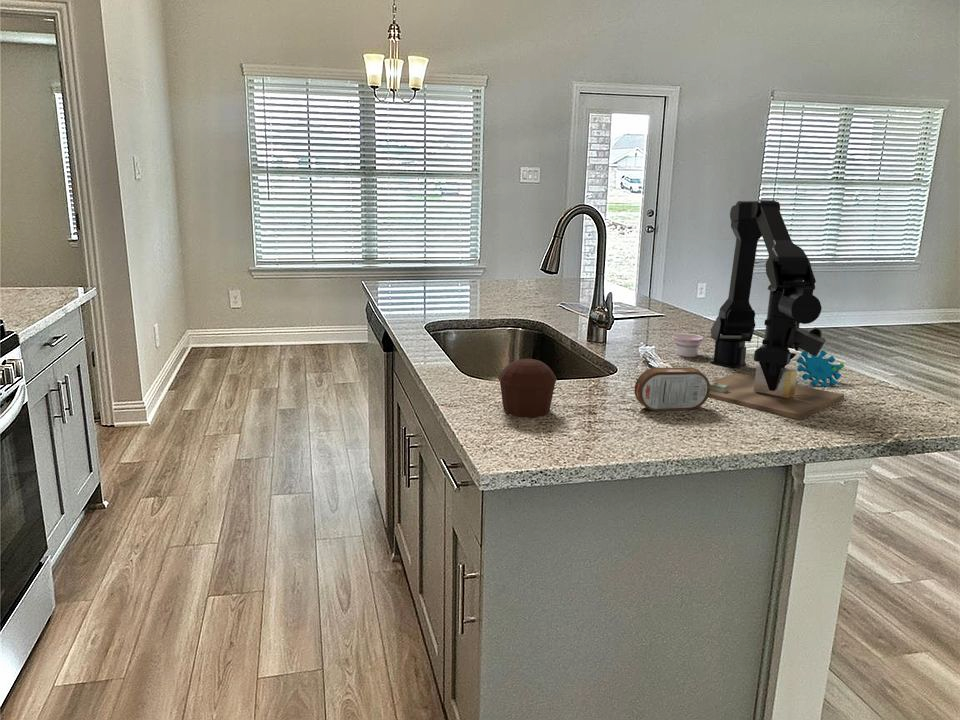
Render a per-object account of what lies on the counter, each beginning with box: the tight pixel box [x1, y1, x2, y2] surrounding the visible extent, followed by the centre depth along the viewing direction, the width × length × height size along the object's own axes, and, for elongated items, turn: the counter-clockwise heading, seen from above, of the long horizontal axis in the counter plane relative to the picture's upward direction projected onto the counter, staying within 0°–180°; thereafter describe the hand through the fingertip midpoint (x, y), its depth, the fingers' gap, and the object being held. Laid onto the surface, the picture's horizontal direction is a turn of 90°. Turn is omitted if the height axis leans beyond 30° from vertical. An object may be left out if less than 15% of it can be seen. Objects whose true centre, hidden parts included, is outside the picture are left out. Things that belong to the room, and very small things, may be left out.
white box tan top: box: [754, 364, 798, 398], centre depth 146 cm, size 7×3×6 cm, turn 45°
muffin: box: [497, 358, 558, 419], centre depth 135 cm, size 12×11×10 cm
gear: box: [796, 349, 845, 388], centre depth 160 cm, size 11×6×10 cm
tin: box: [633, 367, 710, 412], centre depth 138 cm, size 15×3×8 cm, turn 99°
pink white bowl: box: [672, 332, 705, 358], centre depth 182 cm, size 12×12×6 cm
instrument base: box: [708, 372, 845, 421], centre depth 149 cm, size 24×22×3 cm
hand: (773, 388), depth 147 cm, fingers closed on white box tan top, 3 cm apart
